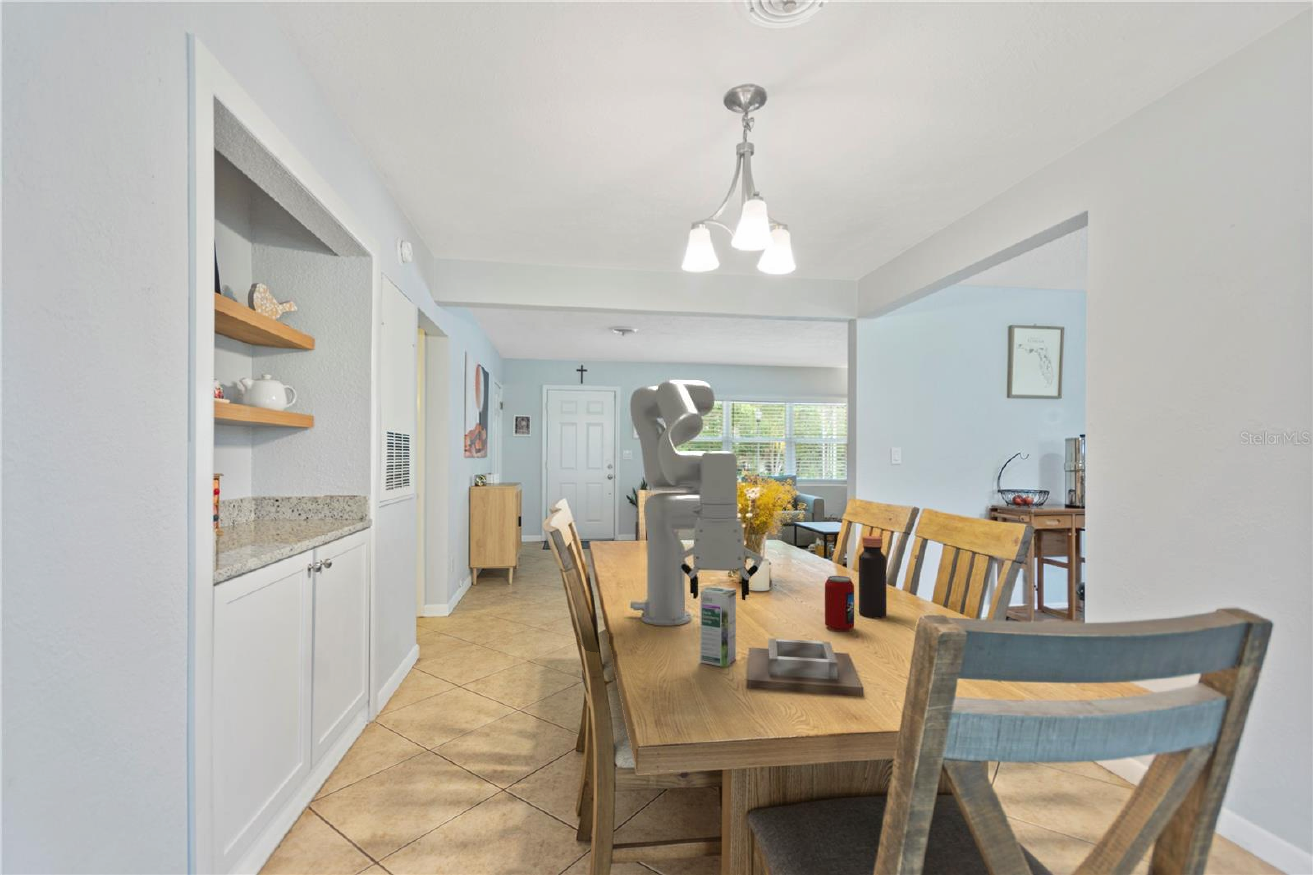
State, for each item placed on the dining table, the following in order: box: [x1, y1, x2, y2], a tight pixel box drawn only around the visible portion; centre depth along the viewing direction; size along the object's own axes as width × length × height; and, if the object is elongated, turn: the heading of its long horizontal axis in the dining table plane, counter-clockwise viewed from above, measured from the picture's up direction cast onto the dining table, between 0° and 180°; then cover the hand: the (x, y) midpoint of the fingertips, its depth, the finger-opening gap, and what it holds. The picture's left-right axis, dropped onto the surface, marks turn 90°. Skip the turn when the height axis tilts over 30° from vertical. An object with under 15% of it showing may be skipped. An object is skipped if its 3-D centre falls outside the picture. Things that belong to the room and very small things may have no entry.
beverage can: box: [824, 575, 855, 632], centre depth 146 cm, size 7×7×12 cm
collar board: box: [746, 638, 864, 697], centre depth 116 cm, size 20×18×4 cm
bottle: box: [858, 535, 888, 619], centre depth 158 cm, size 7×7×20 cm
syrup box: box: [699, 585, 737, 668], centre depth 123 cm, size 6×6×14 cm
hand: (719, 598), depth 122 cm, fingers open, 9 cm apart
